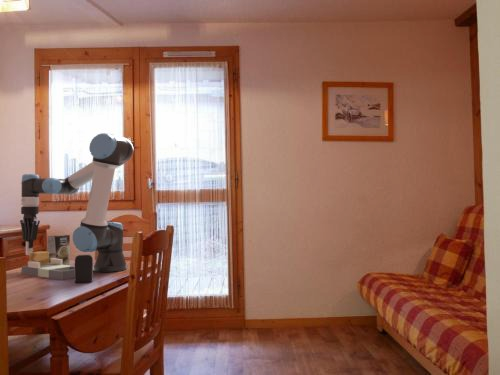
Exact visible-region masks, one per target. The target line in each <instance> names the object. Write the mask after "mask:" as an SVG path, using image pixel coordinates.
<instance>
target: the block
mask: <svg viewBox="0 0 500 375" xmlns="http://www.w3.org/2000/svg"><path fill="white" fill-rule="evenodd" d="M28 256H29V259H28V261H32V262H40V266H43V265H49V252H47V251H43V250H40V251H33V252H31V253H29V255H28Z"/></svg>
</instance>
